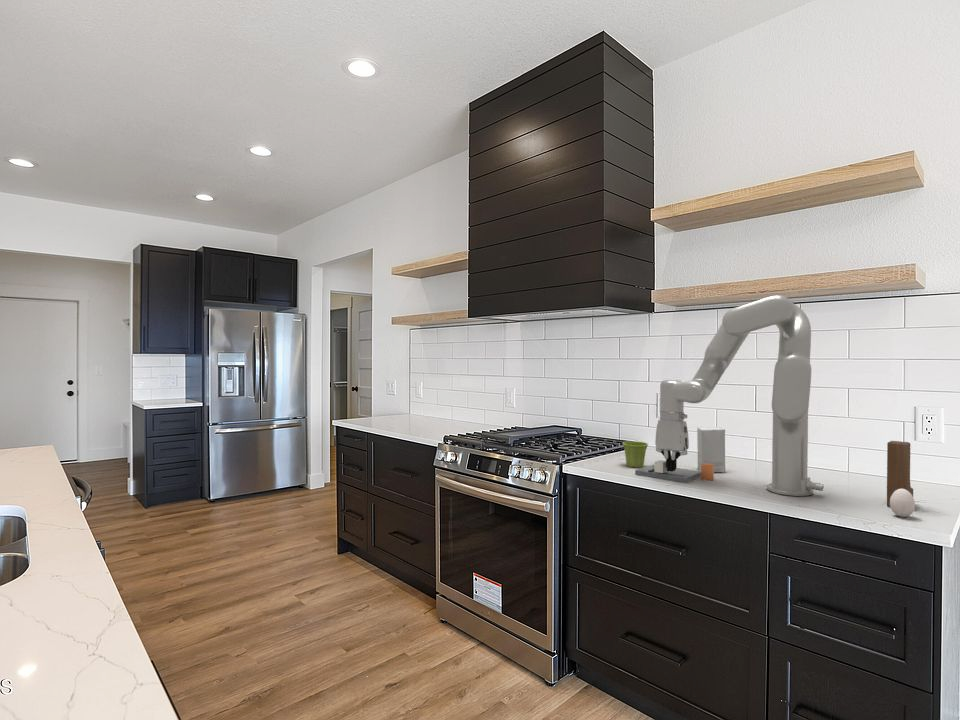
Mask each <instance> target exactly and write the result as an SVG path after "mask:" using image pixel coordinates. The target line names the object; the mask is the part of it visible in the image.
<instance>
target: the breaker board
mask: <svg viewBox="0 0 960 720" xmlns="http://www.w3.org/2000/svg"><path fill="white" fill-rule="evenodd" d="M652 465H653V464H651V465H648V466H645V467H644V466H643V467H641V468H637V469H635V470H634V471H635V473H634V475H636V476H640V477H641V476H642V477H648V478H653V479H659V480H666V481H671V480H672V481H671V482H677V481H678V483H683V484H686V483H688V482H689V483H690V482H691V481H694V480H696V479H698V478H701V471H700V470H695V469H686V468H680V467H676V470H675V471H672V472H670V471H668V472H665V473H658V472H654V468H652Z"/></svg>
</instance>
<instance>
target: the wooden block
mask: <svg viewBox="0 0 960 720" xmlns="http://www.w3.org/2000/svg"><path fill="white" fill-rule="evenodd" d="M886 444H887V447H886V448H887V450H886V457H887V458H886V507H888V508H891V507H890V498H891V496H892V494H893V493H894V492H895V491H896V490H898V489H905V490H907V491H909V492H910V493H911V495H912V496H913V497H914V488H912V487H911V443H910V442H908V441H898V440H891V441H888V442H887V443H886Z"/></svg>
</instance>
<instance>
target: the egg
mask: <svg viewBox="0 0 960 720" xmlns="http://www.w3.org/2000/svg"><path fill="white" fill-rule="evenodd" d="M889 508H890V509H891V511H892V512H893V513H894V514H895V516H898V517H901V518H906V517H910V516H911V515H912V514H913V513H914V512H915V508H916V502H915V499H914V495H913V496H912V495H911V493H910V492H909V491H907V490H905V489H898V490H896V491H895V492H894V493H893V494H892V496H891V498H890V507H889Z"/></svg>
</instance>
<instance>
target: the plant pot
mask: <svg viewBox="0 0 960 720" xmlns="http://www.w3.org/2000/svg"><path fill="white" fill-rule="evenodd" d="M622 446H623V449H624V455H625V463H626V464H625V465H626V467H628V466H629V468H635V467H641V468H644V465H645V460H646V459H645V458H646V452H647V449H648V448H647V447H648V446H649V443H648V442H643V441H637V440H635V441H631V440H630V441H623V442H622Z"/></svg>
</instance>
